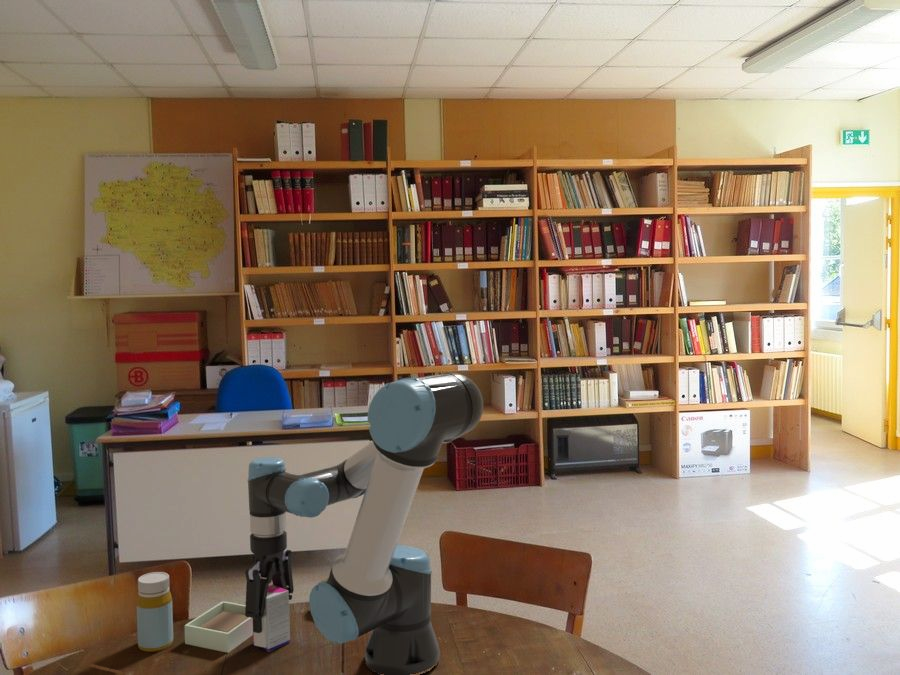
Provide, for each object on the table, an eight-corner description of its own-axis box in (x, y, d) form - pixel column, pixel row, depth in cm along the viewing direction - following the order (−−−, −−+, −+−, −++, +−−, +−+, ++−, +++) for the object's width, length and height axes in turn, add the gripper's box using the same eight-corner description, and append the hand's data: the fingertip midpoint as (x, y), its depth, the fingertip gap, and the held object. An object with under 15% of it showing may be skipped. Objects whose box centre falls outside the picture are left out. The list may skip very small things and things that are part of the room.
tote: (264, 628, 175) (264, 608, 174) (228, 654, 163) (227, 633, 162) (223, 620, 179) (222, 601, 178) (185, 645, 167) (184, 625, 166)
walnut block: (250, 629, 173) (249, 616, 173) (227, 645, 166) (227, 631, 166) (223, 624, 176) (223, 611, 175) (200, 639, 168) (200, 626, 168)
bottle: (161, 655, 162) (159, 585, 161) (131, 652, 164) (128, 582, 163) (179, 640, 169) (177, 572, 168) (150, 637, 171) (148, 570, 169)
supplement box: (291, 642, 167) (289, 590, 166) (268, 652, 163) (265, 599, 162) (275, 633, 171) (273, 582, 170) (252, 643, 167) (249, 591, 166)
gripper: (279, 516, 176) (282, 615, 178) (223, 545, 157) (227, 656, 159) (308, 519, 173) (311, 620, 175) (255, 549, 154) (258, 662, 156)
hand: (271, 637), depth 167 cm, fingers closed on supplement box, 7 cm apart
